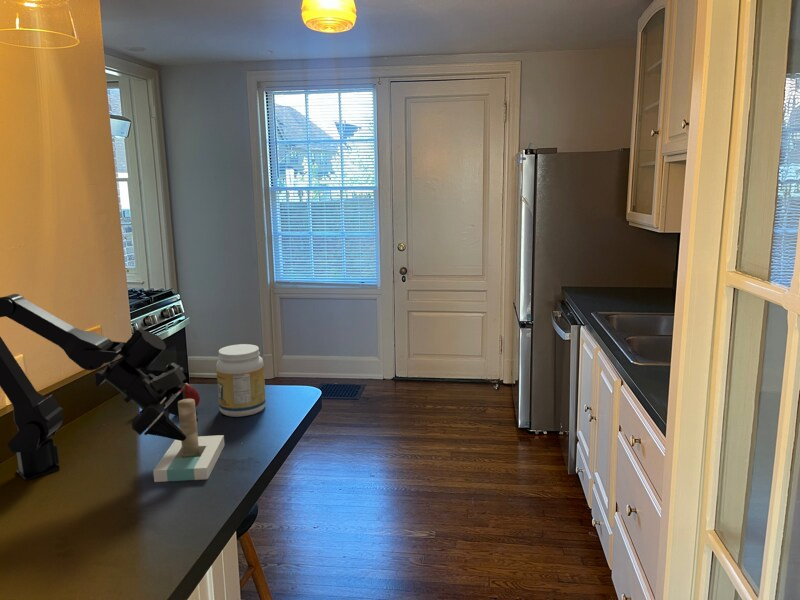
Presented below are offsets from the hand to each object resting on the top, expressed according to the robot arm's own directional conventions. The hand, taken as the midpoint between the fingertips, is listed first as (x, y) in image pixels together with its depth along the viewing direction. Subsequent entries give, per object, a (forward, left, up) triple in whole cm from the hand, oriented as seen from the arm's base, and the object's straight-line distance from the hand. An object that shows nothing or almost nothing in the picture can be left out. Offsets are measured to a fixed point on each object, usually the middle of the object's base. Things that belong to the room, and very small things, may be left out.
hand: (191, 430), depth 124 cm
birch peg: (0, 0, -7) cm, 7 cm away
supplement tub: (+25, +18, -8) cm, 32 cm away
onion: (+15, +28, -8) cm, 33 cm away
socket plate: (0, 0, -7) cm, 7 cm away
